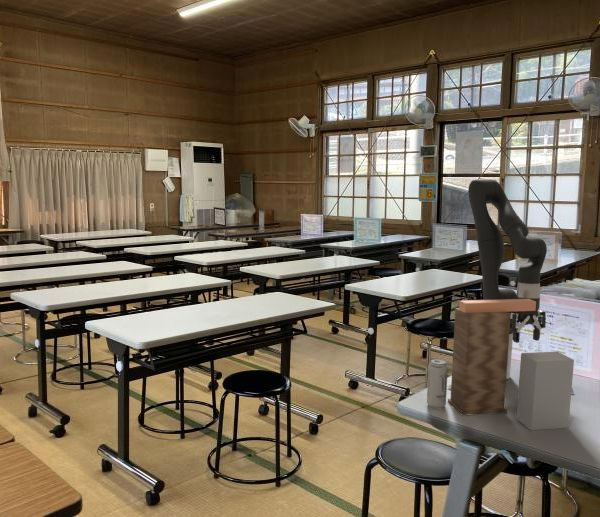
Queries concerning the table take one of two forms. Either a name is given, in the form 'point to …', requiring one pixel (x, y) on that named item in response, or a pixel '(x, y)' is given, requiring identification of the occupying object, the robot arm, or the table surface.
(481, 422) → the table surface
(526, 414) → the gray rectangular block
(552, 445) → the table surface
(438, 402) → the energy drink can
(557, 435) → the table surface
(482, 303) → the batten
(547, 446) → the table surface
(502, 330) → the pedestal
